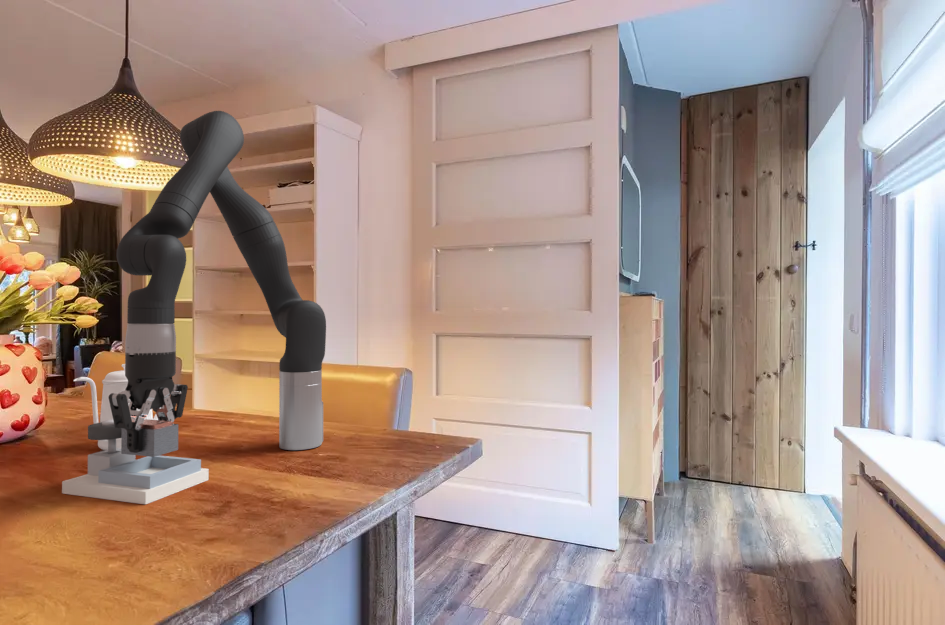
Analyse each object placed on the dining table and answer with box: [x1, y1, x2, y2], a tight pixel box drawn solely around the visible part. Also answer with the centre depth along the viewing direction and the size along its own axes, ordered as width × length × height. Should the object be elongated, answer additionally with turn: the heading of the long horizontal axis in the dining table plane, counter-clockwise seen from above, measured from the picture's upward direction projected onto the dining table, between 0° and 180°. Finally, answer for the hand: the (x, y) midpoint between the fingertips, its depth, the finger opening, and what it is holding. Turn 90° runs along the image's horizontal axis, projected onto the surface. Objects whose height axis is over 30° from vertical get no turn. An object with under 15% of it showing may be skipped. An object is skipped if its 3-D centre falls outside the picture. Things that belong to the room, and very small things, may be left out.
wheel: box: [87, 419, 122, 454], centre depth 95 cm, size 7×7×6 cm
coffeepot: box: [73, 363, 158, 451], centre depth 121 cm, size 11×25×19 cm, turn 168°
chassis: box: [61, 448, 210, 505], centre depth 93 cm, size 13×18×6 cm
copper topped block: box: [121, 419, 179, 457], centre depth 92 cm, size 5×7×5 cm
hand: (150, 447), depth 92 cm, fingers closed on copper topped block, 5 cm apart
